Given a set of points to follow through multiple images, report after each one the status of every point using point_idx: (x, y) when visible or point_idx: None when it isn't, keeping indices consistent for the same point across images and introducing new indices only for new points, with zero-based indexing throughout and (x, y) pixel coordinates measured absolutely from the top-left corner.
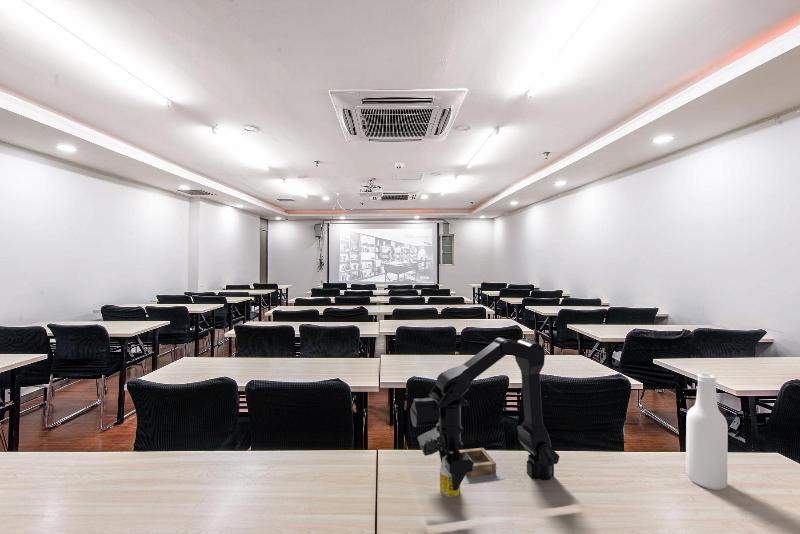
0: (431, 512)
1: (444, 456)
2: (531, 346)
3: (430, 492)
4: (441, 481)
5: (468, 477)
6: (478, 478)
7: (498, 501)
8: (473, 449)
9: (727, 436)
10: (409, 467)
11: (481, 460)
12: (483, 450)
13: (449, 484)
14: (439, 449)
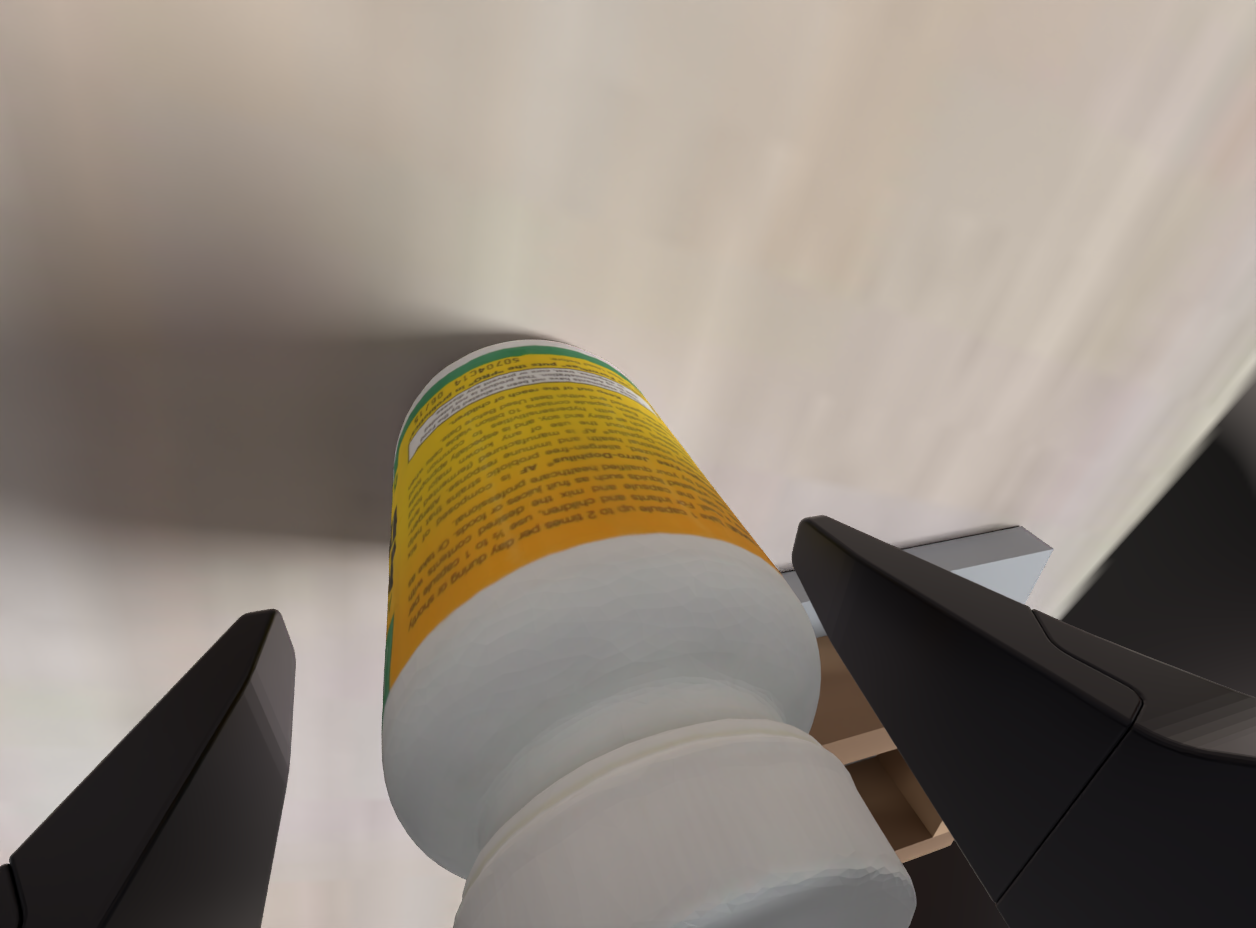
0: (86, 60)
1: (906, 899)
2: None
3: (625, 207)
4: (517, 453)
5: None
6: None
7: (381, 813)
8: None
9: None
10: (1198, 44)
11: (867, 758)
12: (919, 849)
13: (395, 577)
14: (1238, 806)
